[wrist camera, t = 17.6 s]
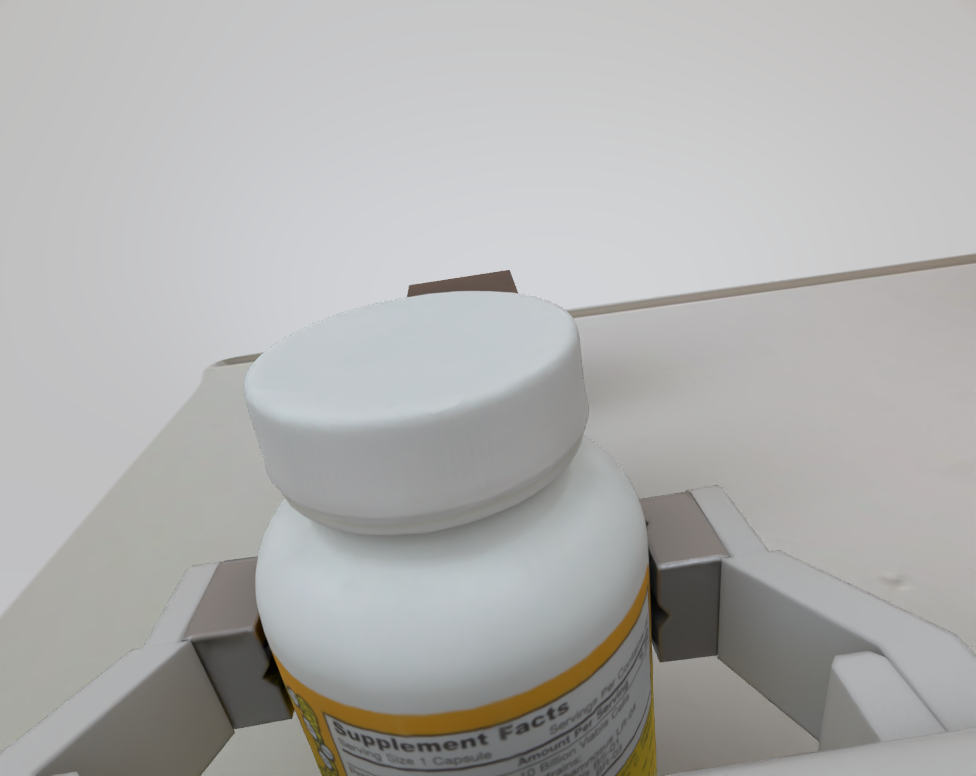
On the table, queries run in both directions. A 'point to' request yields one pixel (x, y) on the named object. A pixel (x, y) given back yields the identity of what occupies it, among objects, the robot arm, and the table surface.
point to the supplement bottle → (451, 546)
